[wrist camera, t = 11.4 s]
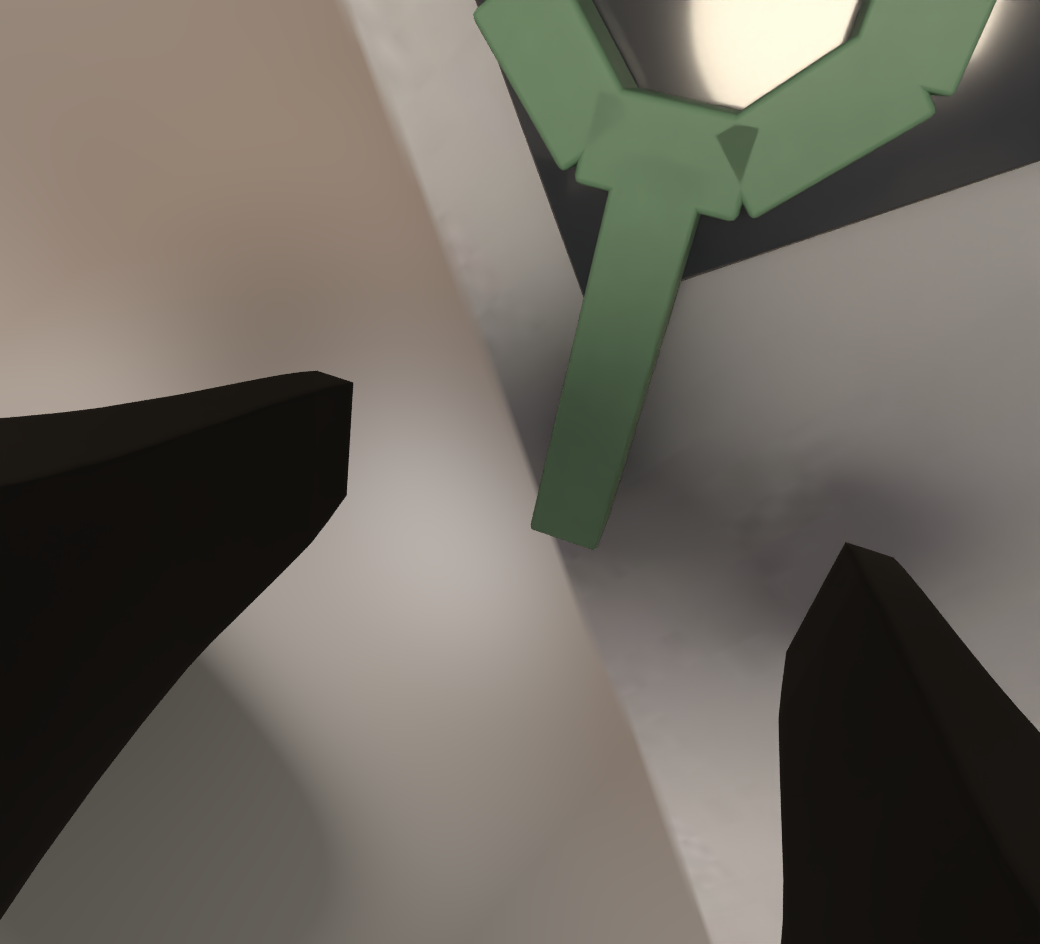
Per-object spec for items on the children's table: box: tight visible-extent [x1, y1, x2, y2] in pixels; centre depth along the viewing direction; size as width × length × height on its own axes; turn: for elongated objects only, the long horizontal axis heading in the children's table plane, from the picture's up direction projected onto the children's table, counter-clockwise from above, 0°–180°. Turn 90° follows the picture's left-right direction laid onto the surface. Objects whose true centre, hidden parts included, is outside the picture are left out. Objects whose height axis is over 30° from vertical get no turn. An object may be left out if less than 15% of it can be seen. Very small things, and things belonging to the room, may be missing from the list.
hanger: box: [473, 0, 997, 550], centre depth 10 cm, size 11×6×1 cm, turn 169°
